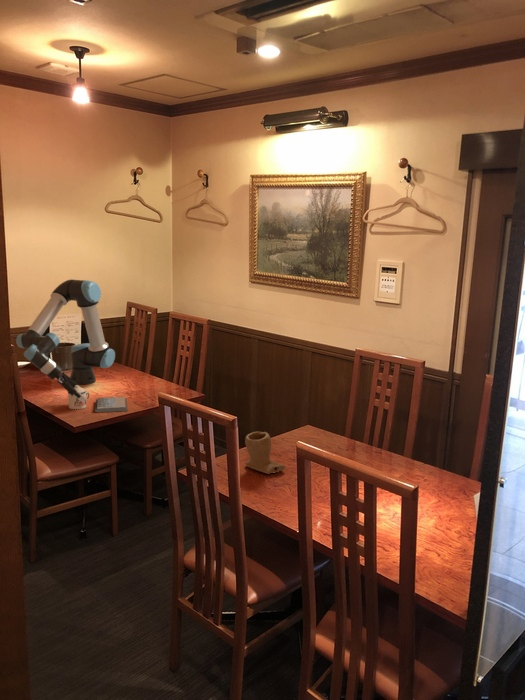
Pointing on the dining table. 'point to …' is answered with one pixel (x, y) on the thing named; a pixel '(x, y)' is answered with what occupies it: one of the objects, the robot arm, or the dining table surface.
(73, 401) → the teacup with lid
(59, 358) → the plant pot
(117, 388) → the dining table surface
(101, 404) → the press bed
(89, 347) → the robot arm
